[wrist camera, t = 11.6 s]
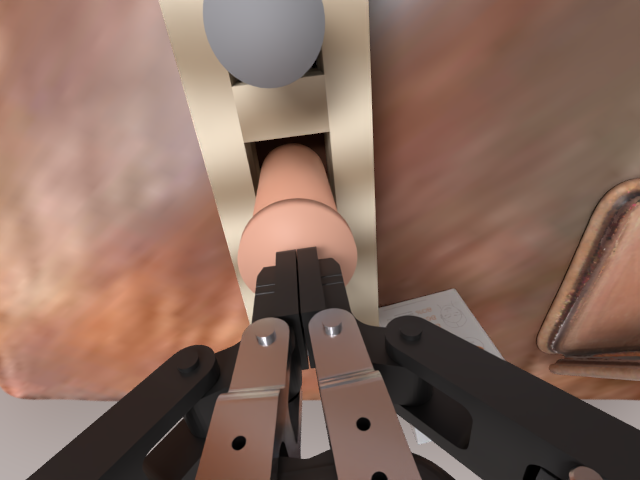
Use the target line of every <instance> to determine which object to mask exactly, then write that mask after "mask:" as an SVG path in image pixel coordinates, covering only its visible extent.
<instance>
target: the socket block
mask: <svg viewBox="0 0 640 480" xmlns="http://www.w3.org/2000/svg"><path fill="white" fill-rule="evenodd" d="M203 1H204V0H159V4H160V7H161V11H162V14H163V18H164V21H165V25H166V28H167V32H168V35H169V39H170V43H171V46H172V50H173V53H174V57H175V60H176V64H177V67H178V71H179V74H180V78H181V81H182V85H183V89H184V92H185V96H186V99H187V103H188V106H189V110H190V113H191V117H192V120H193V124H194V127H195V131H196V135H197V138H198V142H199V145H200V149H201V152H202V156H203V159H204V163H205V166H206V170H207V173H208V177H209V180H210V184H211V188H212V191H213V195H214V198H215V202H216V205H217V209H218V212H219V216H220V219H221V223H222V226H223V230H224V234H225V237H226V241H227V244H228V248H229V251H230V255H231V258H232V262H233V265H234V269H235V272H236V276H237V280H238V283H239V287H240V290H241V294H242V297H243V301H244V304H245V308H246V311H247V315H248V318H249V322H250V325H251V324H252V315H253V307H254V298H255V293H253V292H252V291H251V290H250V289H249V288H248V286H247V285H246V284H245V282H244V281H243V279H242V277H241V274H240V272H239V268H238V259H237V256H238V249H239V244H240V240H241V236H242V233H243V231H244V229H245V226H246V225H247V223H248V222H249V220H250V219H251V218H252V217H253V212H254V206H255V200H256V195H257V189H258V184H259V178H260V172H261V171H260V166H259V161H258V156H257V152H256V147H255V142H254V141H262V140H270V139H277V138H285V137H292V136H300V135H307V134H315V133H322V132H324V140H325V150H326V160H327V170H328V179H329V185H330V188H331V192H332V195H333V198H334V202H335V205H336V208H337V211H338V213H339V214H340V215H341V216H342V217H343V218H344V219H345V221H346V222H347V224H348V225H349V227H350V229H351V232H352V235H353V238H354V241H355V244H356V247H357V265H356V269H355V272H354V274H353V276H352V278H351V280H350V281H349V283H348V284H347V285H346V286H345V288H346V292H347V296H348V300H349V305H350V309H351V312H352V314H353V316H354V317H355V318H356V319H357V320H359V321H360V322H362V323H364V324H367V325H371V326H377V327H379V310H378V279H377V248H376V218H375V187H374V156H373V126H372V95H371V65H370V34H369V3H368V0H322V2H323V6H324V13H325V33H324V39H323V43H322V46H321V50H320V52H319V54H318V56H317V59H316V62H317V68H312V69H309V70H308V71H307V72H306V73H305V74H304V75H303V76H302V77H300V78H299V79H298V80H296V81H294V82H293V83H291V84H288V85H286V86H283V87H278V88H259V87H255V86H252V85H249V84H246V83H244V82H242V81H241V80H239V79H237V78H236V77H234V76H233V75H232V74H231V73H230V72H228V71H227V70H226V69H225V68H224V66H223V65H222V64H221V63H220V62H219V60H218V59H217V57H216V56H215V54H214V52H213V51H212V49H211V47H210V44H209V42H208V39H207V36H206V32H205V28H204V22H203Z"/></svg>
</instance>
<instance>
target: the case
mask: <svg viewBox="0 0 640 480" xmlns="http://www.w3.org/2000/svg"><path fill="white" fill-rule="evenodd" d="M537 345H538V347H539V349H540V350H541V351H543V352H545V353H547V354H562V355H564V356H565V358H564V359H560V360H557V362H556V363H555V364H551V365H550V366H549V370H550V372H552V373H554V374H559V375H572V376H585V377H598V378H611V379H624V380H636V381H640V178H636V179H631V180H627V181H624V182H622V183H620V184H618V185H617V186H615V187H613V188H612V189H611V190H610V191H608V192H607V193H606V194H605V195H604V197H603V198H602V199H601V201H600V202H599V203H598V205H597V207H596V208H595V210H594V212H593V214H592V216H591V219H590V221H589V224H588V226H587V228H586V230H585V232H584V235H583V237H582V239H581V242H580V244H579V246H578V248H577V251H576V253H575V255H574V258H573V260H572V262H571V265H570V267H569V269H568V271H567V273H566V276H565V278H564V280H563V282H562V285H561V287H560V289H559V291H558V293H557V295H556V297H555V299H554V301H553V303H552V306H551V308H550V310H549V312H548V314H547V316H546V318H545V321H544V323H543V325H542V327H541V329H540V331H539V334H538V337H537Z"/></svg>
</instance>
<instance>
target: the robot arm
mask: <svg viewBox="0 0 640 480" xmlns="http://www.w3.org/2000/svg"><path fill="white" fill-rule="evenodd" d="M297 258H298V259H297ZM307 350H308V351H307ZM308 355H309V361H310V366H311V368H316V374H317V379H318V386H319V392H320V397H321V402H322V407H323V413H324V418H325V423H326V429H327V434H328V439H329V445H330V450H328V451H325V452H323V453H321V454H319V455H316V456H314V457H312V458H309V459H301V448H300V447H301V421H302V387H301V386H302V370H305V369H309V364H308ZM396 413H397V414H398V415H399V416H401V417H402V418H403V419H404V420H406V421H407V422H408V423H410V424H411V425H412V426H413V427H415V428H416V429H417V430H419V431H420V432H421V433H423V434H424V435H425V436H427V437H428V438H429V439H430V440H432V441H433V442H434V443H436V444H437V445H438V446H440V447H441V448H442V449H444V450H445V451H446V452H447V453H449V454H450V455H451V456H453V457H454V458H455V459H457V460H458V461H459V462H460V463H462V464H463V465H465V466H466V467H467V468H468V469H470V470H471V471H472V472H473V473H475V474H476V475H478V476H479V477H480V478H481V479H483V480H640V430H638V429H636V428H634V427H633V426H631V425H629V424H626V423H625V422H623V421H621V420H619V419H617V418H615V417H613V416H611V415H609V414H607V413H605V412H603V411H602V410H600V409H597V408H596V407H594V406H592V405H590V404H588V403H586V402H584V401H582V400H580V399H578V398H576V397H574V396H573V395H571V394H569V393H567V392H565V391H563V390H561V389H559V388H557V387H555V386H553V385H551V384H549V383H547V382H545V381H543V380H542V379H540V378H538V377H536V376H534V375H532V374H530V373H528V372H526V371H524V370H522V369H520V368H518V367H516V366H514V365H513V364H511V363H509V362H507V361H505V360H503V359H501V358H499V357H497V356H495V355H493V354H491V353H489V352H487V351H485V350H483V349H482V348H480V347H478V346H476V345H474V344H472V343H470V342H468V341H466V340H464V339H462V338H460V337H458V336H456V335H454V334H452V333H451V332H449V331H447V330H445V329H443V328H441V327H439V326H437V325H435V324H433V323H431V322H429V321H427V320H425V319H423V318H421V317H418V316H412V315H405V316H399V317H396V318H394V319H393V320H391V321H390V322H389V323H388V324H387V326H386V327H377V326H371V325H367V324H364V323H362V322H360V321H359V320H357V319H356V318H355V317H354V316H353V314H352V312H351V309H350V305H349V300H348V296H347V292H346V288H345V284H344V280H343V276H342V272H341V268H340V264H339V263H337V262H336V261H335V260H334V259H333V258H325V259H318V255H317V248H316V246H315V247H308V248H301V249H297V254H296V249H294V250H287V251H280V252H276V264H275V266H269V267H263V269H262V270H261V272H260V273H259V274H258V276H257V280H256V289H255V298H254V307H253V315H252V324H251V325H249V326H248V327H247V328H246V329H245V331H244V333H243V335H242V339H241V341H240V342H239V343H237V344H236V345H234V346H232V347H230V348H227V349H225V350H222V351H220V352H217V353H215V354H214V352H213V350H212V349H211V348H209V347H207V346H204V345H193V346H189V347H186V348H184V349H182V350H180V351H178V352H177V353H176V354H174V355H173V356H172V357H171V358H169V359H168V360H167V361H166V362H165V363H163V364H162V365H161V366H160V367H159V368H158V369H156V370H155V371H154V372H153V373H152V374H150V375H149V376H148V377H147V378H146V379H145V380H143V381H142V382H141V383H140V384H139V385H137V386H136V387H135V388H134V389H133V390H132V391H130V392H129V393H128V394H127V395H126V396H124V397H123V398H122V399H121V400H120V401H118V402H117V403H116V404H115V405H114V406H113V407H111V408H110V409H109V410H108V411H107V412H106V413H104V414H103V415H102V416H101V417H100V418H98V419H97V420H96V421H95V422H94V423H92V424H91V425H90V426H89V427H88V428H87V429H85V430H84V431H83V432H82V433H81V434H79V435H78V436H77V437H76V438H75V439H74V440H72V441H71V442H70V443H69V444H68V445H66V446H65V447H64V448H63V449H62V450H61V451H59V452H58V453H57V454H56V455H55V456H54V457H52V458H51V459H50V460H49V461H48V462H46V463H45V464H44V465H43V466H42V467H41V468H40V469H38V470H37V471H36V472H35V473H33V474H32V475H31V476H30V477H29V478H27V479H26V480H455V479H454V478H453V477H452V476H451V475H449V474H448V473H447V472H446V471H444V470H443V469H442V468H440V467H439V466H438V465H436V464H435V463H433V462H432V461H430V460H427V459H426V458H424V457H422V456H420V455H417V454H414V453H412V452H411V451H410V448H409V446H408V443H407V441H406V438H405V435H404V433H403V430H402V427H401V425H400V422H399V420H398V417H397V414H396ZM182 417H183V419H182V421H180V422H179V423H178V425H177V426H176V427H175V428H174V429H173V430H172V431H171V432H170V433H169V434H168V435H167V436H166V437H165V438H164V439H163V440H162V441H161V442H160V443H159V444H158V445H157V446H156V447H155V448H154V449H153V450H152V451H151V452H150V453H149V454H148V452H149V451H150V450H151V448H153V447H154V446H155V445H156V443H157V442H159V440H160V439H161V438H162V437H163V436H164V435H165V434H166V433H167V432H168V431H169V430H170V429H171V428H172V427H173V426H174V425H175V424H176V423H177V422H178V421H179V420H180V419H181V418H182ZM147 454H148V455H147ZM146 455H147V456H146Z"/></svg>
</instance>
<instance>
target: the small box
mask: <svg viewBox="0 0 640 480" xmlns="http://www.w3.org/2000/svg"><path fill="white" fill-rule="evenodd" d="M378 310H379V327H386V326H387V324H388V323H389V322H390V321H391V320H393V319H394V318H396V317H399V316H405V315H412V316H418V317H421V318H423V319H425V320H427V321H429V322H431V323H433V324H435V325H437V326H439V327H441V328H443V329H445V330H447V331H449V332H451V333H452V334H454V335H456V336H458V337H460V338H462V339H464V340H466V341H468V342H470V343H472V344H474V345H476V346H478V347H480V348H482V349H483V350H485V351H487V352H489V353H491V354H493V355H495V356H497V357H499V358H501V359H503V360H504V358H503V357H502V355H501V354H500V352H499V351H498V350H497V348H496V347H495V345H494V344H493V342H492V341H491V339H490V338H489V337H488V335H487V334H486V332H485V331H484V329H483V328H482V327H481V325H480V324H479V322H478V321H477V319H476V318H475V317H474V315H473V314H472V312H471V311H470V310H469V308H468V307H467V305H466V304H465V302H464V301H463V300H462V298H461V297H460V295H459V294H458V292H457V291H456V290H455V289H450V290H446V291H443V292H439V293H435V294H431V295H427V296H423V297H419V298H415V299H411V300H408V301H404V302H400V303H396V304H393V305H389V306H385V307H381V308H378ZM410 425H411V424H410ZM411 428H412V430H413V434H414V436H415V439H416V442H417V443H418V444H423V443H427V442H431V441H432V440H430V439H429V438H428V437H427V436H425V435H424V434H423V433H421V432H420V431H419V430H417V429H416V428H415V427H413V426H412V425H411Z"/></svg>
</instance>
